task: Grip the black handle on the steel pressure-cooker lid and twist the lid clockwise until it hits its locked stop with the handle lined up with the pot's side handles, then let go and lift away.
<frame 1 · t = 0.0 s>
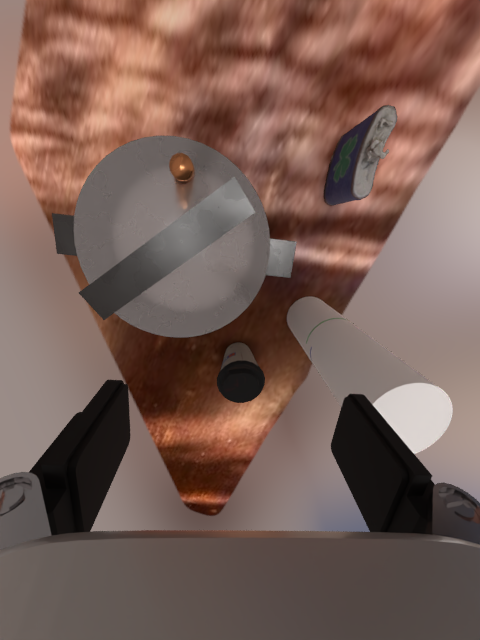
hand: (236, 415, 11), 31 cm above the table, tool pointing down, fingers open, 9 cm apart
coffee cup: (238, 353, 45), on the table
cooker pot: (191, 242, 38), on the table
cylindrical container: (307, 316, 43), on the table
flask: (337, 170, 36), on the table
cooker lid: (171, 250, 24), point 15 cm above the table, hinge at 40.0°
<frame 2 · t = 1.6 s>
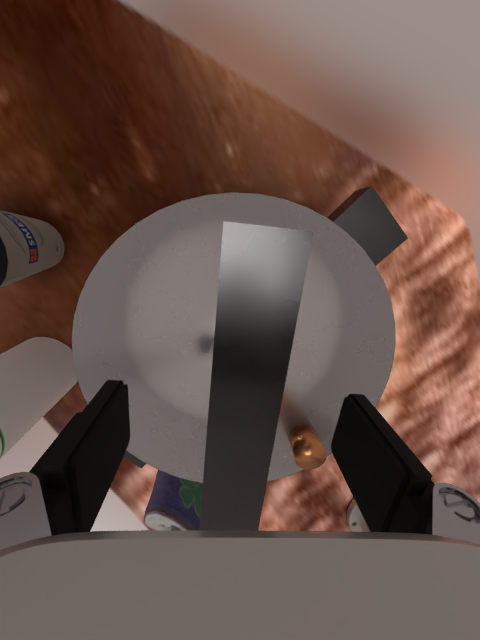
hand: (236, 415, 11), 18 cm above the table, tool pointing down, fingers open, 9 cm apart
coffee cup: (41, 244, 25), on the table
cooker pot: (233, 307, 28), on the table
cylindrical container: (49, 364, 30), on the table
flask: (191, 463, 35), on the table
cooker lid: (239, 385, 14), point 15 cm above the table, hinge at 40.0°
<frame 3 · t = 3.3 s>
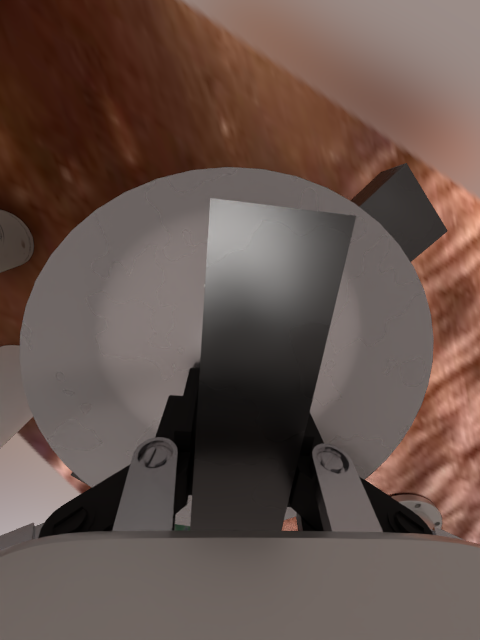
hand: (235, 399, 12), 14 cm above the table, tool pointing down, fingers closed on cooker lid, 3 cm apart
coffee cup: (6, 238, 22), on the table
cooker pot: (230, 310, 25), on the table
cylindrical container: (22, 375, 26), on the table
cooker lid: (237, 421, 11), point 15 cm above the table, hinge at 40.0°, touching gripper
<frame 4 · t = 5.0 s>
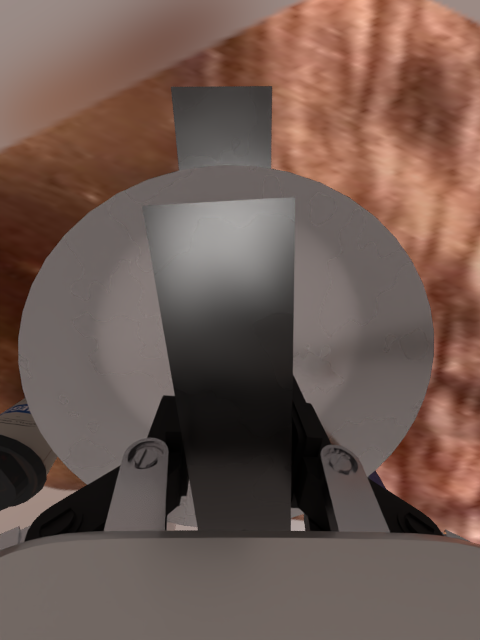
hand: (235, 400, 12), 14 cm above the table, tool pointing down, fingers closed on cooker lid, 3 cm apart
coffee cup: (65, 397, 27), on the table
cooker pot: (229, 310, 25), on the table
cooker lid: (237, 421, 11), point 15 cm above the table, hinge at 1.7°, touching gripper
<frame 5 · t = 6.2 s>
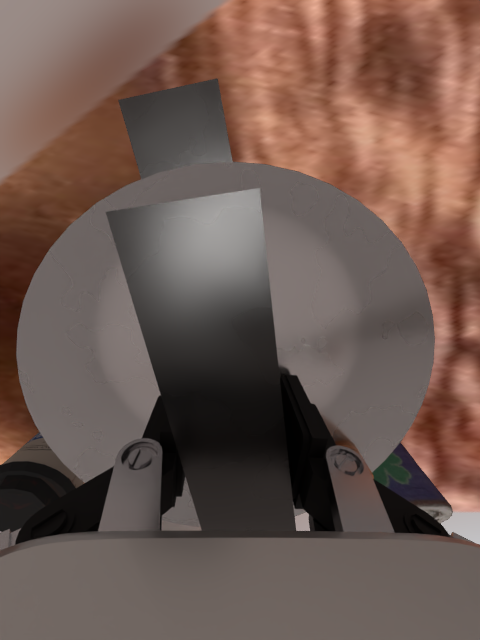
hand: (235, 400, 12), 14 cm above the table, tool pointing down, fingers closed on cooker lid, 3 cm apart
coffee cup: (87, 417, 28), on the table
cooker pot: (229, 309, 25), on the table
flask: (357, 439, 32), on the table
cooker lid: (236, 420, 10), point 15 cm above the table, hinge at -2.9°, touching gripper
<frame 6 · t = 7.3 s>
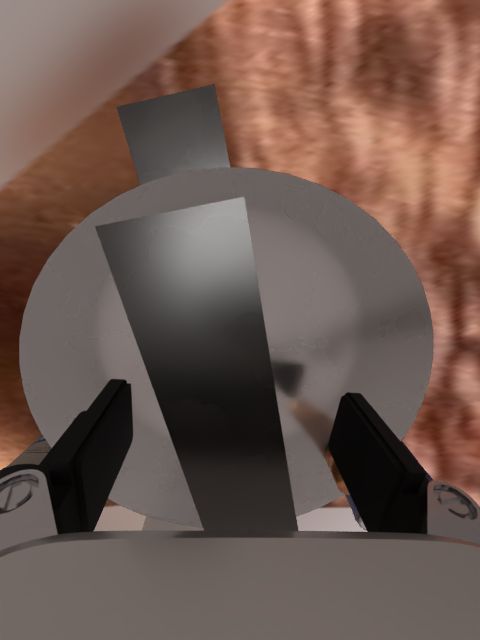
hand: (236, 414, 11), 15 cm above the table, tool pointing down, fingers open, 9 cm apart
coffee cup: (90, 419, 28), on the table
cooker pot: (230, 310, 25), on the table
cylindrical container: (187, 475, 32), on the table
cooker lid: (237, 422, 11), point 15 cm above the table, hinge at -1.4°
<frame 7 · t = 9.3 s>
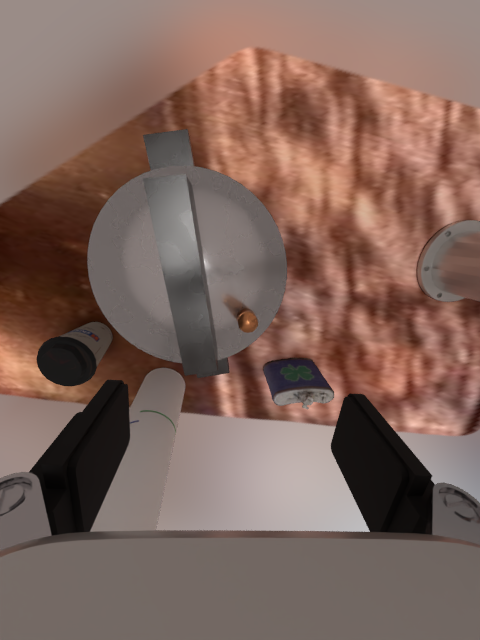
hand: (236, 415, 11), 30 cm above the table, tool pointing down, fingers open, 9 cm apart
coffee cup: (97, 334, 40), on the table
cooker pot: (199, 261, 38), on the table
cylindrical container: (164, 385, 44), on the table
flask: (288, 365, 45), on the table
cooker lid: (189, 280, 23), point 15 cm above the table, hinge at -1.4°
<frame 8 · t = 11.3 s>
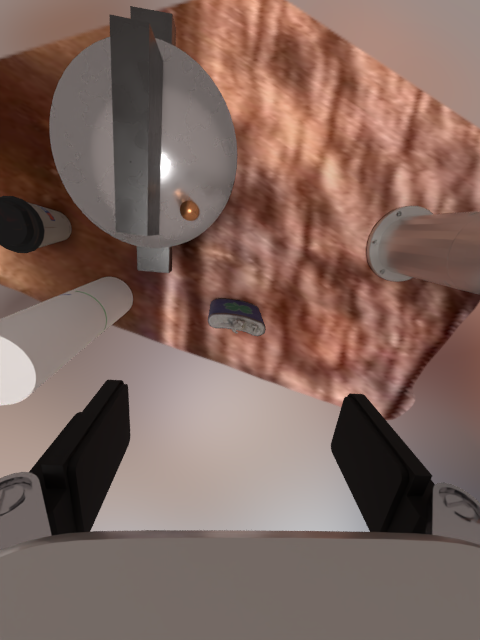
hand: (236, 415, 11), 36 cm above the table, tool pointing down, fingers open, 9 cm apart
coffee cup: (57, 226, 41), on the table
cooker pot: (171, 177, 40), on the table
cylindrical container: (112, 296, 45), on the table
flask: (235, 306, 47), on the table
cooker lid: (141, 148, 25), point 15 cm above the table, hinge at -1.4°
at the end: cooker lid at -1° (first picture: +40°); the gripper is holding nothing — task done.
